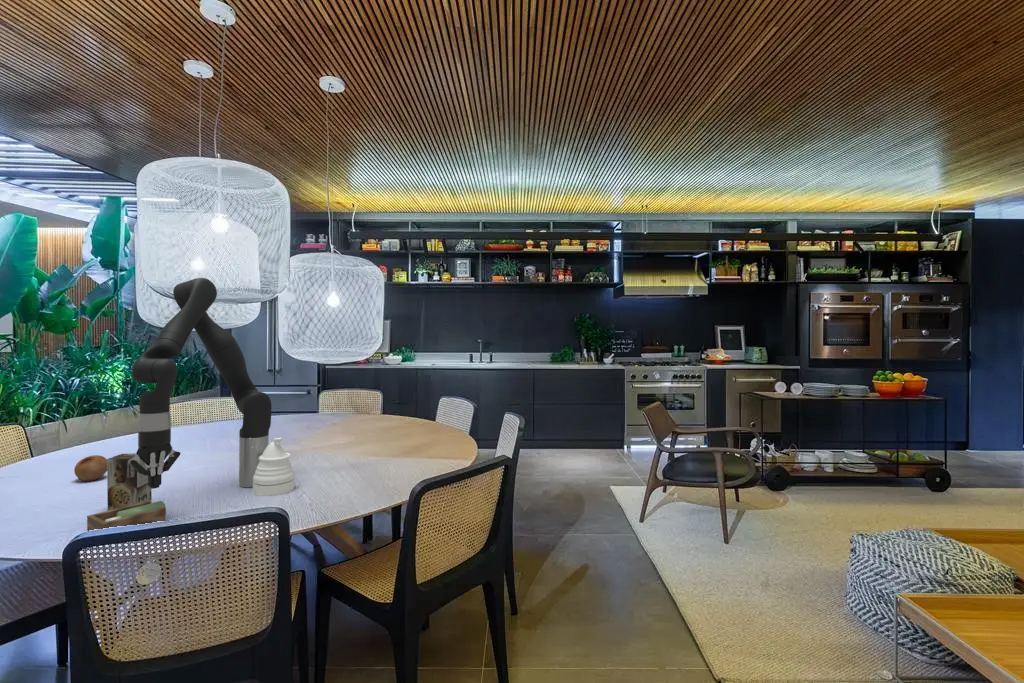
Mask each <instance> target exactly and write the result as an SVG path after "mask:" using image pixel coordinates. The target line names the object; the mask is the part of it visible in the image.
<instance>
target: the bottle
mask: <svg viewBox="0 0 1024 683" xmlns="http://www.w3.org/2000/svg"><path fill="white" fill-rule="evenodd" d="M162 507H164V508H165V516H166V514H167V508H166V505H165V502H164V501H162V500H159V501H156V502H152V503H151V504H147V505H143V506H139V507H135V508H131V509H127V510H123V511H119V512H118V513H117V515H116V517H113V518H110V519H106V520H105V522H108V521H112V520H116V519H120V518H124V517H128V516H131V515H135V514H139V513H143V512H147V511H150V510H154V509H158V508H162Z"/></svg>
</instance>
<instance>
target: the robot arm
mask: <svg viewBox="0 0 1024 683" xmlns="http://www.w3.org/2000/svg"><path fill="white" fill-rule="evenodd" d="M172 292H173V298H174V300H175V303H176V304H177V306H178V307H179V309H180V310H179V311H178V312H177V313H176V314H175V315H174V316H173V317H172V318H171V319H170V320H169V321H168V322H167V323H166V324H165V325H164V326H163V327H162V329H161V330H160V331H159V333H158V336H157V337H156V339H155V341H154V343H152V345H151V346H150V347H148V348H147V349H146V350H145V351H144V352H143V353H142V354H141V355H140V356H139V357H138V358H137V359H136V360H135V361H134V363H133V365H132V368H131V376H132V378H133V379H134V380H135V381H136V382H138V383H139V384H140V383H141V384H156V386H155V388H154V390H150V391H145V392H142V393H141V394H140V396H139V416H138V420H137V422H138V423H137V425H138V427H137V430H138V431H137V432H138V434H137V436H138V439H137V440H138V442H137V446H138V447H137V451H136V452H135V453H136V456H134V457H133V458H132V459H128V460H127V463H129V464H130V465H131V466H132V467H133V468H134V469H135V470H136V471H138V472H139V473H140V474H143V475H147V476H148V486H149V487H150V488H152V490H153V489H159V488H160V486H161V485H162V475H163V473H165V472H168V471H170V469H171V468H172V467H173V466H174V465H173V464H175V463H176V461H177V460H178V458H179V457H180V456H181V452H180V451H177V450H174V449H173V446H172V444H171V441H172V440H171V439H172V436H171V435H172V434H171V432H172V419H171V410H170V409H171V408H170V407H171V402H170V401H171V395H172V392H173V388H174V385H175V382H176V380H177V376H178V367H177V364H176V362H175V361H174V360H173V359H175V358H177V357H179V355H180V354H181V352H182V350H183V348H184V347H185V345H186V342H187V341H188V338H189V337H190V334H192V332H193V330H195V332H196V334H197V337H199V339H200V340H201V343H202V345H203V346H204V348H205V349H206V352H207V354H208V356H209V357H210V359H211V361H212V362H213V364H214V366H215V368H216V369H217V371H218V372H219V374H220V375H221V377H222V378H223V380H224V381H225V383H226V385H227V386H228V389H229V390H230V393H231V396H232V398H233V401H234V402H235V405H236V408H237V410H238V411H239V413H241V414H242V425H241V428H240V429H239V434H238V435H239V436H238V437H239V440H238V441H239V448H238V451H239V453H238V454H239V456H238V457H239V458H238V459H239V460H238V461H239V464H238V468H239V469H238V470H239V471H238V474H239V475H238V486H239V487H241V488H253V476H254V474H255V471H256V467H257V466H258V464H259V461H260V460H259V457H260V456H261V455H262V454H263V452H264V450H265V449H266V447H267V446H268V445H269V444H270V442H269V439H270V438H269V434H270V433H269V432H270V428H271V424H272V400H271V398H270V396H269V395H268V394H266V393H265V392H262V391H259V390H258V388H257V387H256V385H255V384H254V383H253V381H252V380H251V378H250V375H249V373H248V370H247V364H246V360H245V356H244V354H243V351H242V350H241V347H240V346H239V344H238V342H237V340H236V338H235V337H234V335H232V334H231V333H230V332H229V331H227V330H226V329H225V328H223V327H222V326H221V325H219V324H218V323H217V322H215V321H214V320H213V319H212V318H211V317H210V315H209V314H208V312H207V311H208V310H209V308H210V307H211V306H212V305H213V303H215V301H216V299H217V297H218V291H217V287H216V285H215V284H214V283H213V281H211V279H208V278H206V277H198V278H193V279H190V280H187V281H183V282H181V283H177V284H176V285H175V286H174V288H173V291H172ZM139 458H140V459H141V460H142V461H143V462H144V463H145V466H146V469H147V470H146V469H144V468H143V467H142V466H141V465H140V464H139V463H140V460H139Z"/></svg>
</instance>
